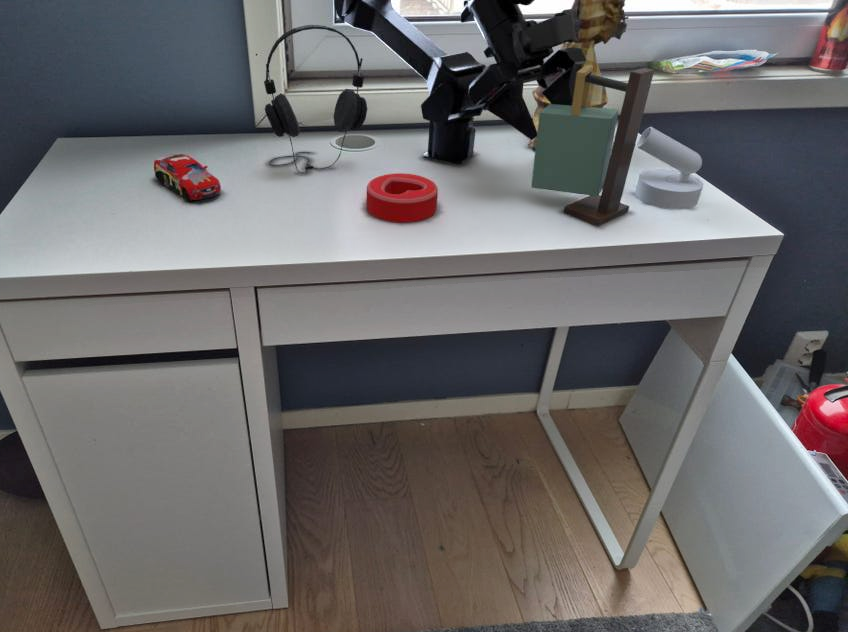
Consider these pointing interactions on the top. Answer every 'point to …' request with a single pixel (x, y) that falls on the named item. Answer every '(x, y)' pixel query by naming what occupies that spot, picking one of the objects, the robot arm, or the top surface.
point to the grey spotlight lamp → (669, 173)
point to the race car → (186, 177)
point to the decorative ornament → (401, 198)
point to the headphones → (347, 107)
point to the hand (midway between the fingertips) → (555, 131)
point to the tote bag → (574, 143)
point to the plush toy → (590, 45)
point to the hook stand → (615, 148)
